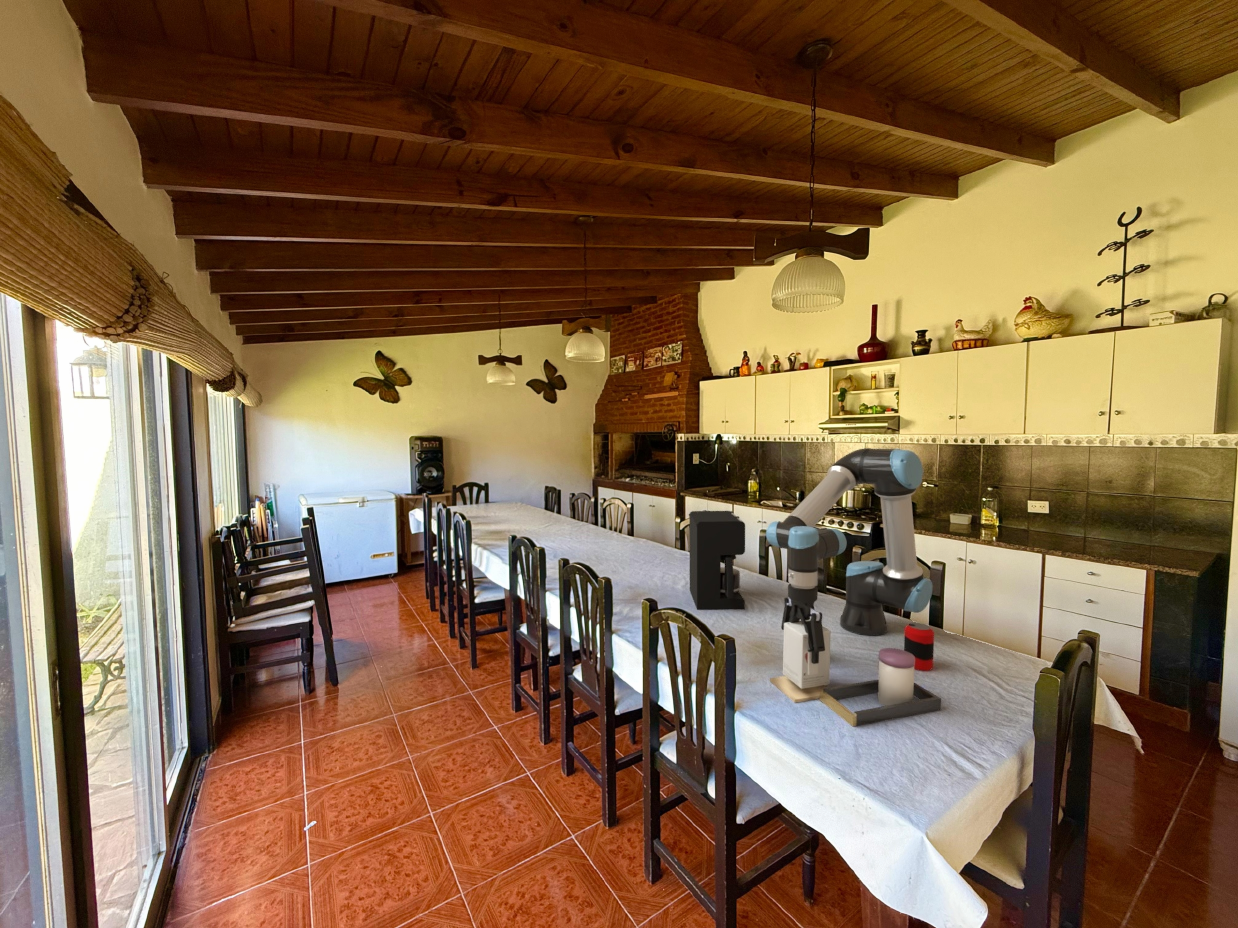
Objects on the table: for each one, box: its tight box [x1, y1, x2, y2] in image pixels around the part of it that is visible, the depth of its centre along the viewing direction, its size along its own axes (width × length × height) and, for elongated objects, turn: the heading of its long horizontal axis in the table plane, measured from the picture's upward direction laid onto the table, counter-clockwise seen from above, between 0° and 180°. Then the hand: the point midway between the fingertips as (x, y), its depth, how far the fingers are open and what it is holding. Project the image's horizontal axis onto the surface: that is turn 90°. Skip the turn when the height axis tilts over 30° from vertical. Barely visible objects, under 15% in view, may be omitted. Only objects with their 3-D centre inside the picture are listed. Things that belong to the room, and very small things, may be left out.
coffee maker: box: [688, 510, 746, 611], centre depth 213 cm, size 28×20×35 cm
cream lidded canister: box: [877, 647, 915, 706], centre depth 136 cm, size 8×8×13 cm
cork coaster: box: [769, 675, 828, 704], centre depth 144 cm, size 12×12×1 cm
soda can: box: [903, 622, 935, 672], centre depth 156 cm, size 8×8×12 cm
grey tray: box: [819, 679, 942, 727], centre depth 135 cm, size 26×12×3 cm, turn 105°
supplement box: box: [782, 619, 832, 689], centre depth 143 cm, size 9×9×15 cm
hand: (801, 665), depth 143 cm, fingers closed on supplement box, 9 cm apart
